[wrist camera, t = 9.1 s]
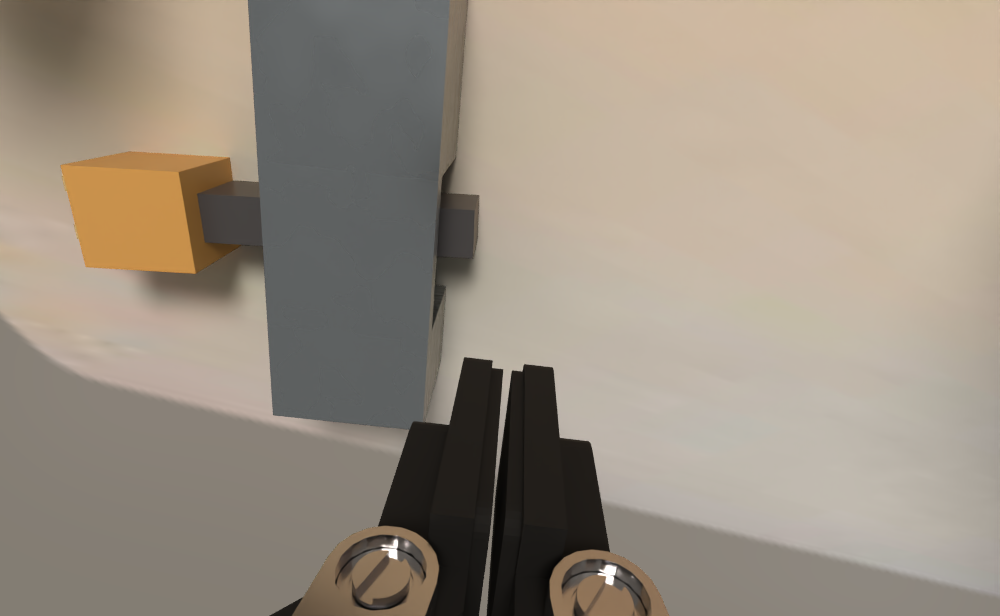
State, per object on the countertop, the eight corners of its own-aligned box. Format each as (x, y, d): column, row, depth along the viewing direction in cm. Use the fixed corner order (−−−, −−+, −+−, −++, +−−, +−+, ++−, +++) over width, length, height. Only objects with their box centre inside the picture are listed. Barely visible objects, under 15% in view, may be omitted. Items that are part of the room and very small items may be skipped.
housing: (313, -48, 21) (242, -93, 16) (470, -29, 21) (454, -67, 16) (321, 347, 28) (273, 415, 22) (440, 360, 28) (422, 430, 22)
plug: (102, 149, 24) (28, 162, 20) (480, 172, 24) (474, 189, 20) (121, 238, 26) (56, 265, 22) (476, 259, 26) (470, 289, 22)
